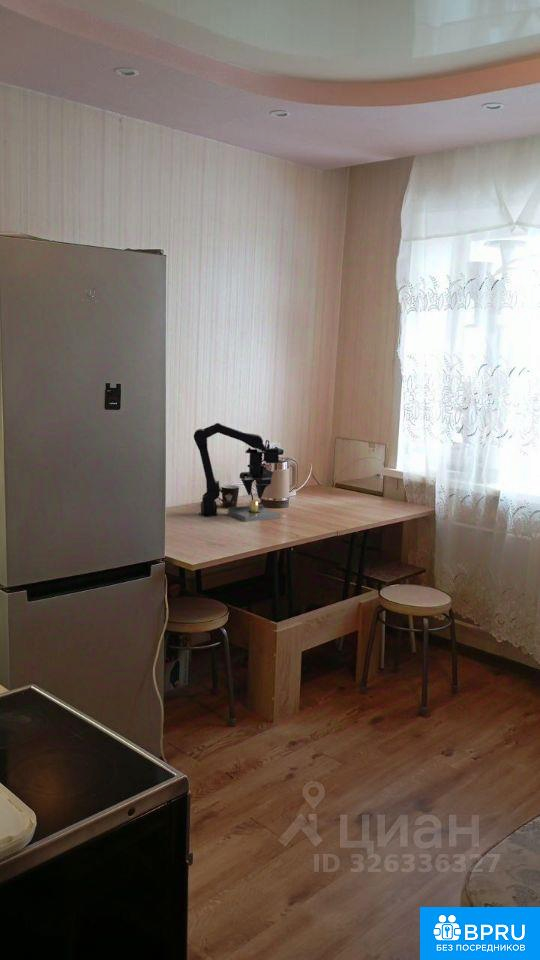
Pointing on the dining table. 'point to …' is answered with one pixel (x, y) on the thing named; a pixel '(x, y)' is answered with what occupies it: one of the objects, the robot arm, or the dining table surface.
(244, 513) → the jig
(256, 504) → the gold rounded cylinder
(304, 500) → the dining table surface
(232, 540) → the dining table surface
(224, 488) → the coffee mug
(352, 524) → the dining table surface
